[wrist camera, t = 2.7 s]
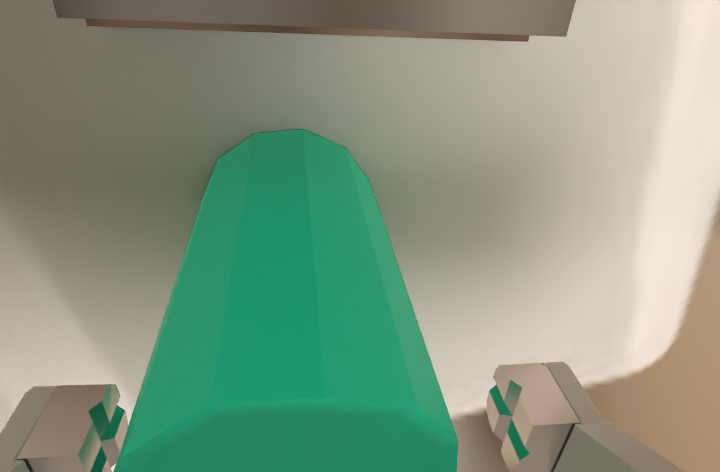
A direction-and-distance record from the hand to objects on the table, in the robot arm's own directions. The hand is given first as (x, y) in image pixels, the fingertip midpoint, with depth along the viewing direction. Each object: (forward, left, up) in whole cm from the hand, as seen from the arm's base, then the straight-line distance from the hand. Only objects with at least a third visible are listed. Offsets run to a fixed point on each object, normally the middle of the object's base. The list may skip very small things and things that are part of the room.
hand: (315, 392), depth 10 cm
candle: (-1, 0, -8) cm, 8 cm away
